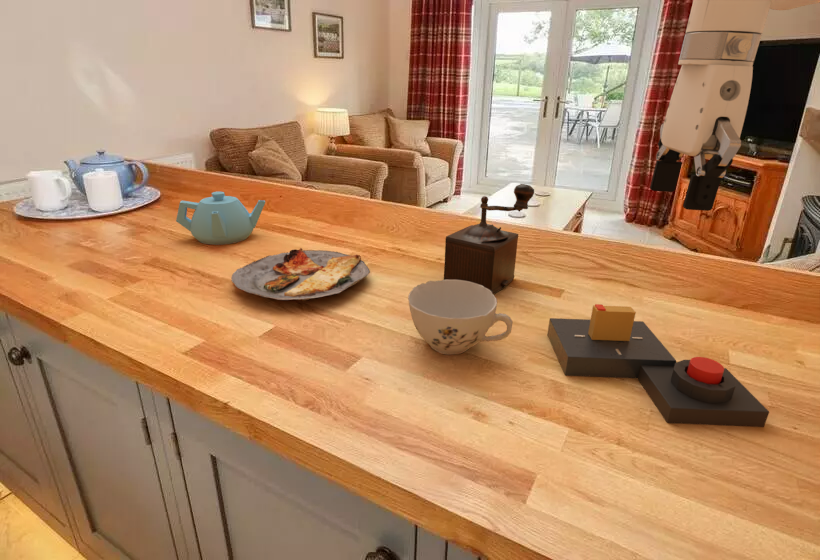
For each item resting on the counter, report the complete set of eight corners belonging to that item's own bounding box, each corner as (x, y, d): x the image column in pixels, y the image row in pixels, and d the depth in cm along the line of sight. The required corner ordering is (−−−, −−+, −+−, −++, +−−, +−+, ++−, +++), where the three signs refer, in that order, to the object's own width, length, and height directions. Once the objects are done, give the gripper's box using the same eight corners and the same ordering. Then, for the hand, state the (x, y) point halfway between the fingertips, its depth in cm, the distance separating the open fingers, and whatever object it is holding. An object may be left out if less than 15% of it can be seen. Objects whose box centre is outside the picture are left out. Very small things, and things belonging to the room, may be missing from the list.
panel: (639, 338, 75) (643, 320, 74) (671, 380, 65) (677, 359, 64) (547, 335, 75) (549, 317, 74) (564, 376, 65) (568, 355, 64)
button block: (721, 381, 65) (729, 355, 63) (764, 427, 56) (774, 398, 55) (637, 378, 65) (643, 352, 63) (667, 423, 57) (675, 394, 55)
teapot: (228, 224, 126) (223, 182, 122) (271, 233, 119) (266, 190, 115) (175, 239, 114) (167, 194, 110) (219, 251, 107) (212, 203, 103)
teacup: (392, 355, 69) (392, 304, 66) (426, 318, 80) (428, 273, 77) (495, 382, 64) (501, 328, 61) (518, 339, 74) (524, 291, 71)
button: (710, 369, 61) (714, 357, 60) (726, 386, 58) (730, 373, 57) (681, 368, 61) (684, 356, 60) (695, 385, 58) (699, 372, 57)
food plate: (294, 252, 108) (293, 236, 106) (388, 270, 99) (388, 254, 97) (207, 294, 87) (204, 275, 86) (316, 322, 78) (315, 302, 77)
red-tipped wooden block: (624, 334, 70) (631, 304, 68) (629, 341, 68) (636, 310, 66) (587, 333, 70) (593, 303, 68) (591, 339, 68) (597, 309, 66)
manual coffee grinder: (494, 298, 88) (503, 199, 81) (441, 283, 93) (446, 189, 86) (528, 272, 99) (539, 183, 92) (480, 260, 105) (486, 176, 98)
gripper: (803, 51, 48) (747, 220, 55) (711, 56, 64) (677, 186, 71) (725, 47, 48) (679, 216, 55) (653, 53, 64) (624, 183, 71)
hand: (678, 199), depth 63 cm, fingers open, 9 cm apart
